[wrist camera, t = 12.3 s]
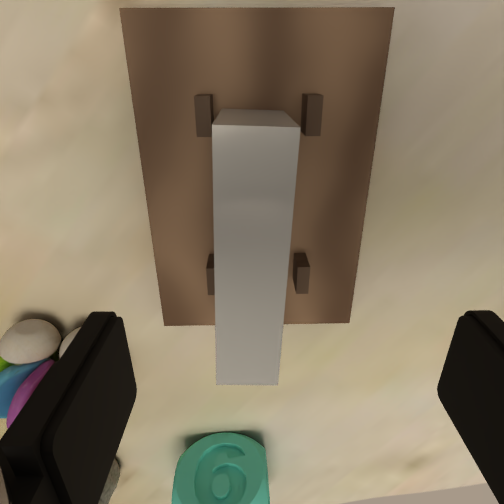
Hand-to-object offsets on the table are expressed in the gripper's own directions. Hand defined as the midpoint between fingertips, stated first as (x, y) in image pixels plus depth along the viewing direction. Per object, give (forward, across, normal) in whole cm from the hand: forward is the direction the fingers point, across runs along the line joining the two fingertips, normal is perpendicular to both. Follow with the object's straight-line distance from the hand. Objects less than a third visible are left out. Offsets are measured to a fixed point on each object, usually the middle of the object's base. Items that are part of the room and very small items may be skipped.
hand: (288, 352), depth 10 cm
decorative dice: (+16, +4, +28) cm, 32 cm away
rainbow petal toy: (+16, +16, +14) cm, 27 cm away
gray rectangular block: (+14, +1, +2) cm, 14 cm away
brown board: (+16, +1, 0) cm, 16 cm away
